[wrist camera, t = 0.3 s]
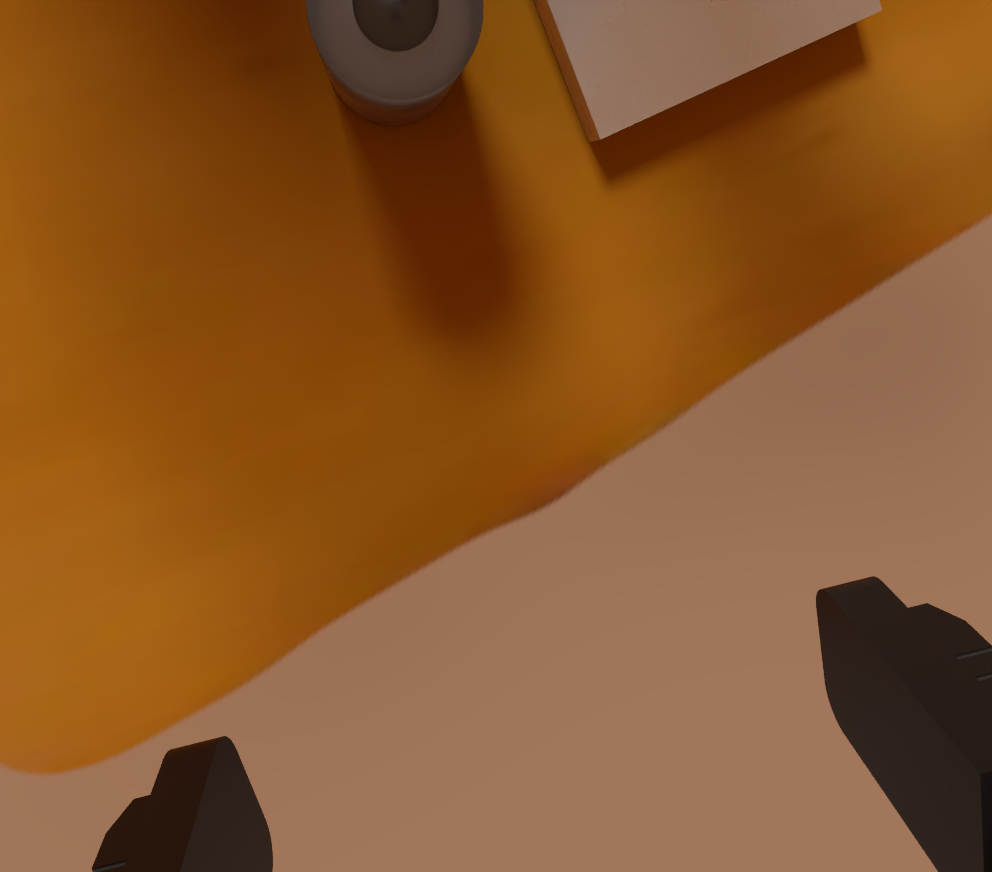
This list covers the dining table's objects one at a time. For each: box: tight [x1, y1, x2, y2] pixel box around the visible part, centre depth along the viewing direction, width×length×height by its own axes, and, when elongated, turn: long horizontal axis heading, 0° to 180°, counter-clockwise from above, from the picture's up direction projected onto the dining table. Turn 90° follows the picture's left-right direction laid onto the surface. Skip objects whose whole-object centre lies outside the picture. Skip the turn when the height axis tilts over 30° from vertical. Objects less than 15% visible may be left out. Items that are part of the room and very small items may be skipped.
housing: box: [306, 0, 483, 126], centre depth 30 cm, size 5×5×10 cm
